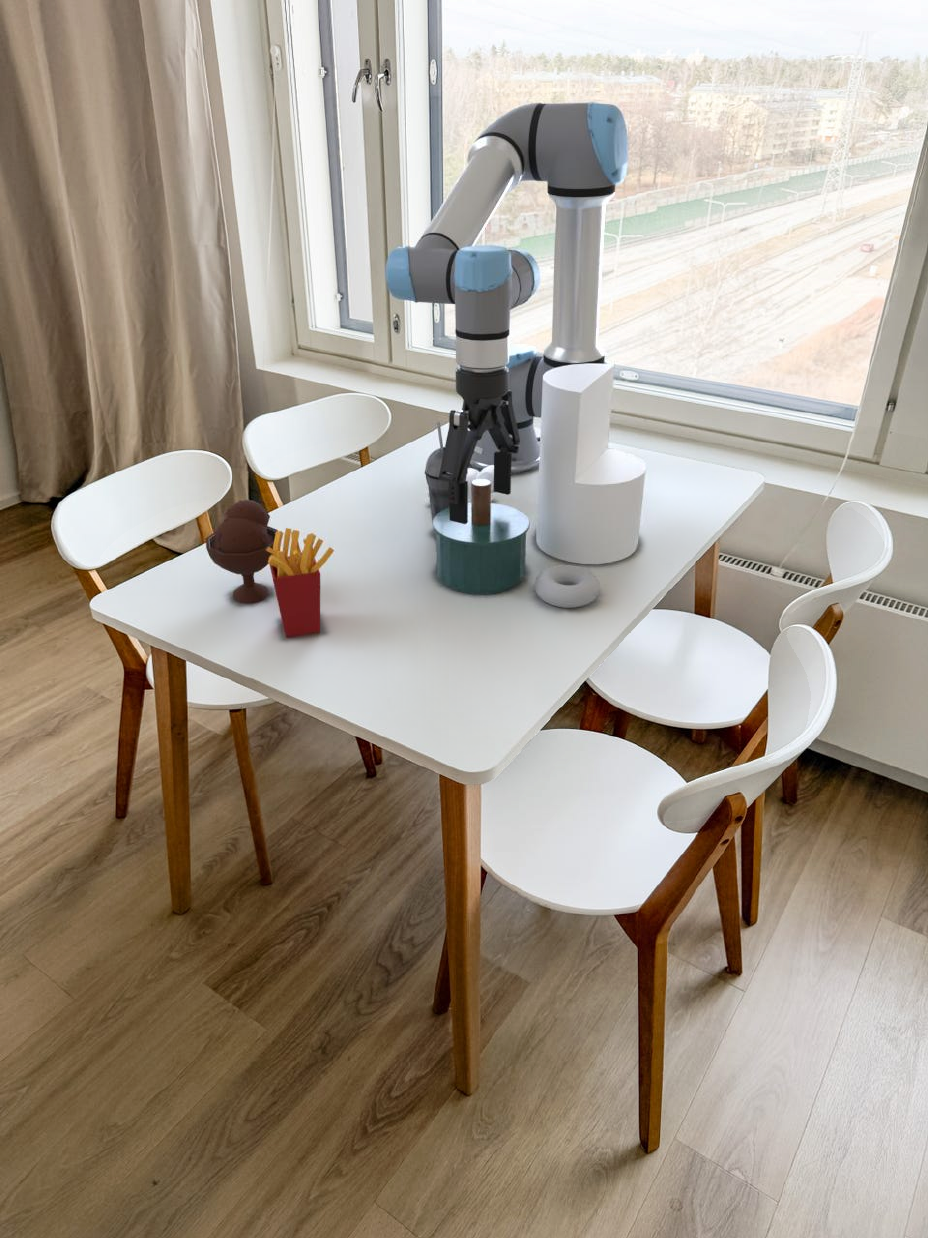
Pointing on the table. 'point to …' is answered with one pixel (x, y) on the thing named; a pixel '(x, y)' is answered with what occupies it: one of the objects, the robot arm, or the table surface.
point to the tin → (480, 565)
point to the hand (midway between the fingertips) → (481, 506)
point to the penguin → (475, 474)
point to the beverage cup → (437, 480)
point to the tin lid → (483, 520)
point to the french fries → (297, 582)
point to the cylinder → (585, 471)
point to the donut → (567, 586)
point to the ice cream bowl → (243, 547)
